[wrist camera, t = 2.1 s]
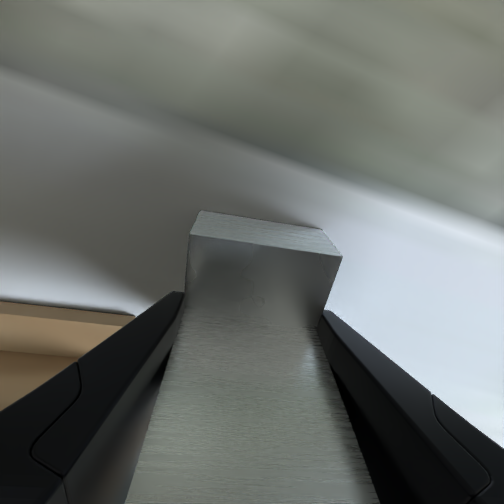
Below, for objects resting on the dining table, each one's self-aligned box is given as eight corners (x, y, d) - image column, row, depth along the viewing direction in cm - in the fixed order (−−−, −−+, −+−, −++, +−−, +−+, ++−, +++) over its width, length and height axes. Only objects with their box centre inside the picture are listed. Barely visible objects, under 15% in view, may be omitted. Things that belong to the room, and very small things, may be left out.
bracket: (289, 333, 11) (360, 632, 4) (189, 321, 10) (108, 635, 4) (322, 229, 9) (524, 495, 3) (200, 210, 8) (77, 472, 2)
